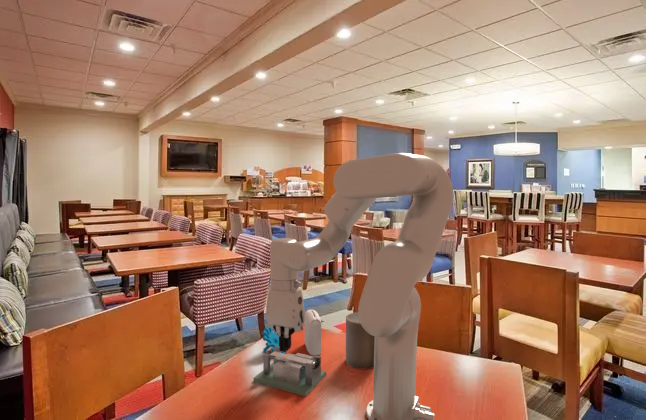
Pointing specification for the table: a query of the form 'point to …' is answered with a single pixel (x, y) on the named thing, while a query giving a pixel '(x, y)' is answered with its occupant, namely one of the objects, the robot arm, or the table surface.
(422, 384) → the table surface
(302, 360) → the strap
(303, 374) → the grey block frame
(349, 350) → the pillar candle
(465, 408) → the table surface
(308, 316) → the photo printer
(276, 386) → the board
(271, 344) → the gear
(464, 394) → the table surface
